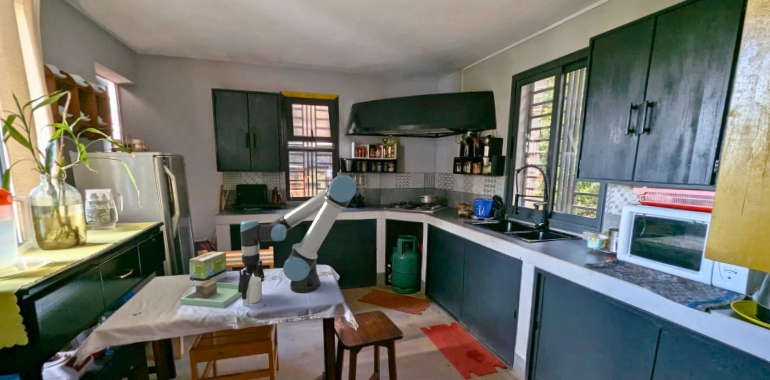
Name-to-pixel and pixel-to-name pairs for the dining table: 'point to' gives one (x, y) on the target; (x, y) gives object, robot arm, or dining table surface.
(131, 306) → the dining table surface
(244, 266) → the robot arm
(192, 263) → the tea box
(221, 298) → the mint green serving tray
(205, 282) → the walnut block
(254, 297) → the white cup
